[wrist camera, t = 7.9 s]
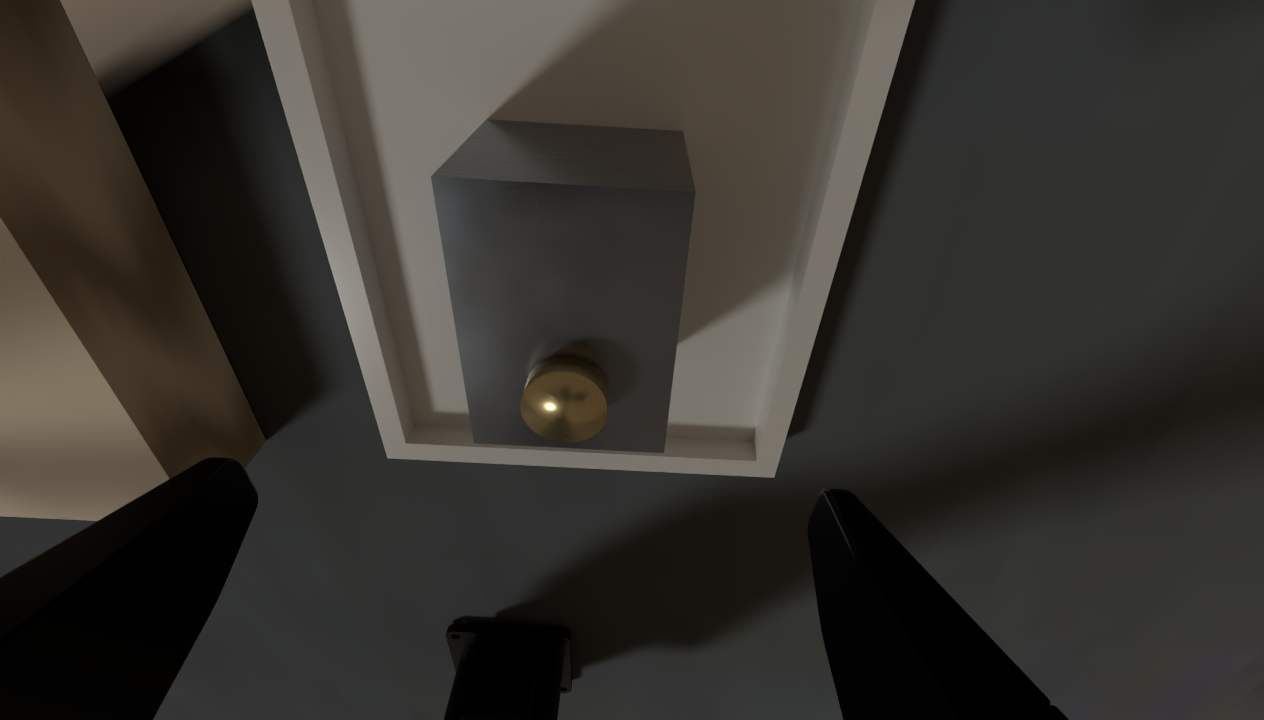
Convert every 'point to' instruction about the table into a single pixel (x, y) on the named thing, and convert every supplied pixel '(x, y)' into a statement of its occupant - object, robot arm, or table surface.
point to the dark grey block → (567, 280)
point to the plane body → (93, 300)
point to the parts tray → (598, 96)
